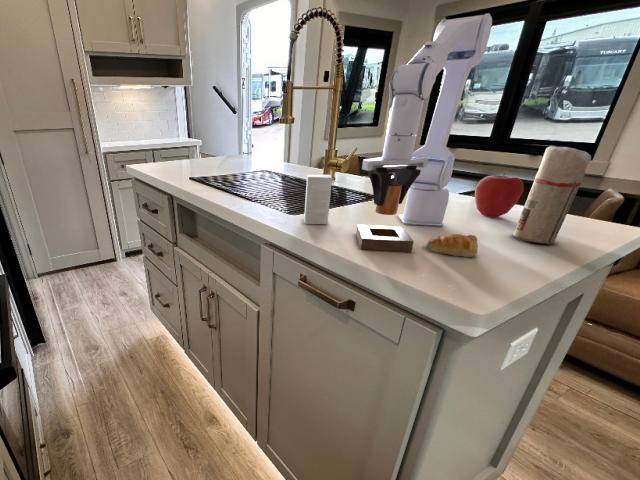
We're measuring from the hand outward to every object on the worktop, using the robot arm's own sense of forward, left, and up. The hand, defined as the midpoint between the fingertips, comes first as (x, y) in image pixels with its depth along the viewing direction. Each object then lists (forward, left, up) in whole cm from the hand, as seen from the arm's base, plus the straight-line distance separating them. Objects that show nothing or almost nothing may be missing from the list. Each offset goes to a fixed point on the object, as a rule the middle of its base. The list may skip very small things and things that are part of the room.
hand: (387, 203), depth 78 cm
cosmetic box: (+15, -13, -9) cm, 22 cm away
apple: (-34, -29, -9) cm, 46 cm away
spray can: (-35, -8, -9) cm, 37 cm away
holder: (0, +1, -9) cm, 9 cm away
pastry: (-14, +4, -9) cm, 17 cm away
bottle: (0, 0, -2) cm, 2 cm away
